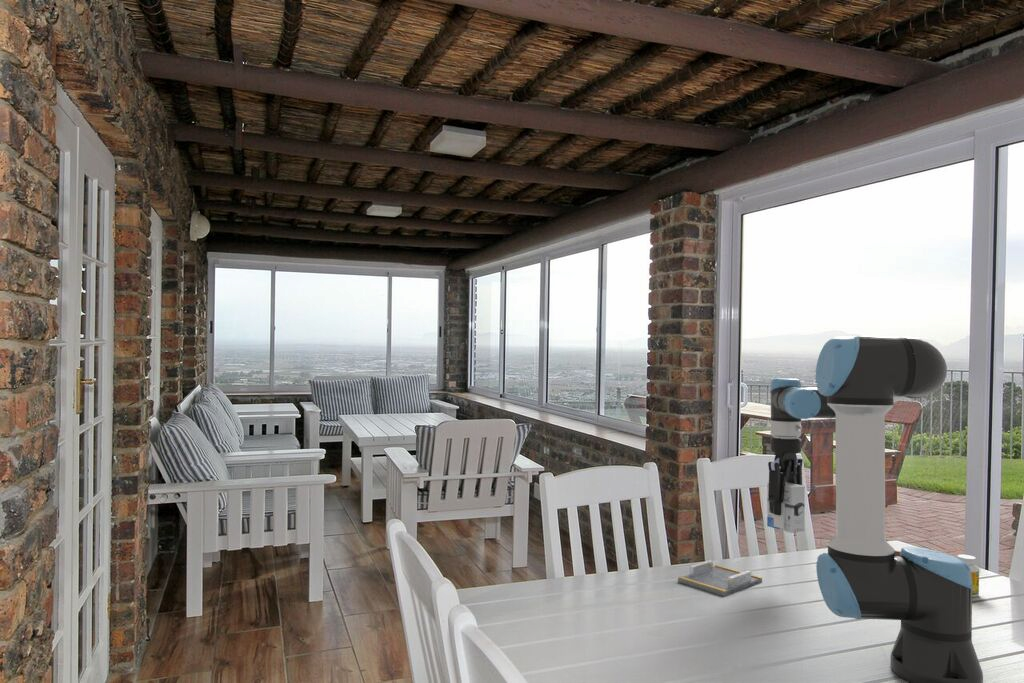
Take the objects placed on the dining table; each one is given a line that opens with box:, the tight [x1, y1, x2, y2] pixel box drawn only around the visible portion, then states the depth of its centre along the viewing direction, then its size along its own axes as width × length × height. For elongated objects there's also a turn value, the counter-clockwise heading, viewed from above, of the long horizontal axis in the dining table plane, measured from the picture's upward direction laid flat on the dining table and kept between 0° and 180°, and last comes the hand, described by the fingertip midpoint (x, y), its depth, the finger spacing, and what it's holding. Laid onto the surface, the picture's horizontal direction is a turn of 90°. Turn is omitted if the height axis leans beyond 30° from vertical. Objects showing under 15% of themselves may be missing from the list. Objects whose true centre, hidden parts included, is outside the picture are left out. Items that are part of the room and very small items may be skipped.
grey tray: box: [677, 559, 763, 597], centre depth 187 cm, size 18×14×4 cm
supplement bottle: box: [956, 554, 980, 598], centre depth 179 cm, size 5×5×10 cm
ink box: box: [766, 482, 806, 534], centre depth 183 cm, size 8×5×12 cm, turn 25°
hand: (785, 525), depth 183 cm, fingers closed on ink box, 6 cm apart
